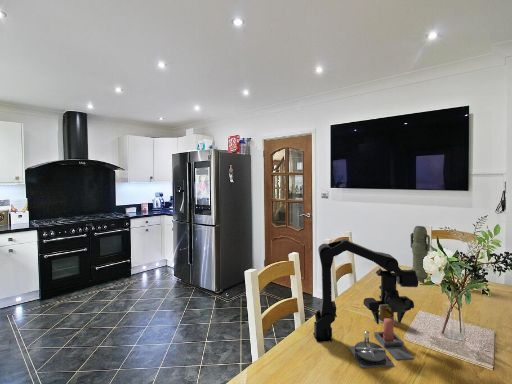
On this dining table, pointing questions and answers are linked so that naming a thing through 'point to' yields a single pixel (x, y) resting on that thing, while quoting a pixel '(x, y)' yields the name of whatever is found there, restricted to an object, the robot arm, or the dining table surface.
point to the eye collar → (388, 344)
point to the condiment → (386, 313)
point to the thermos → (420, 250)
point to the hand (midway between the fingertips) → (388, 323)
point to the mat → (400, 353)
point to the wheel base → (370, 364)
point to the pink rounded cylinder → (388, 330)
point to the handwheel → (370, 350)
